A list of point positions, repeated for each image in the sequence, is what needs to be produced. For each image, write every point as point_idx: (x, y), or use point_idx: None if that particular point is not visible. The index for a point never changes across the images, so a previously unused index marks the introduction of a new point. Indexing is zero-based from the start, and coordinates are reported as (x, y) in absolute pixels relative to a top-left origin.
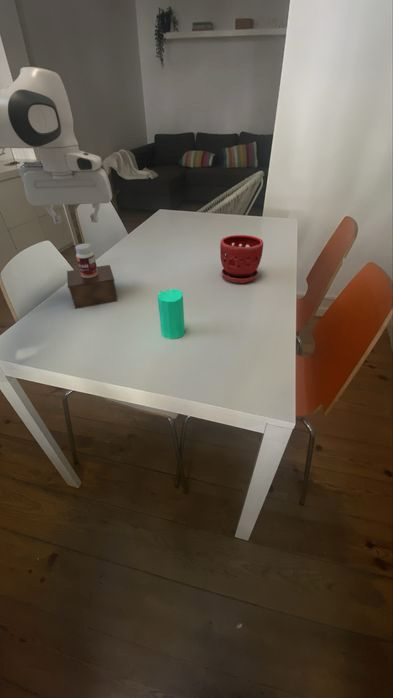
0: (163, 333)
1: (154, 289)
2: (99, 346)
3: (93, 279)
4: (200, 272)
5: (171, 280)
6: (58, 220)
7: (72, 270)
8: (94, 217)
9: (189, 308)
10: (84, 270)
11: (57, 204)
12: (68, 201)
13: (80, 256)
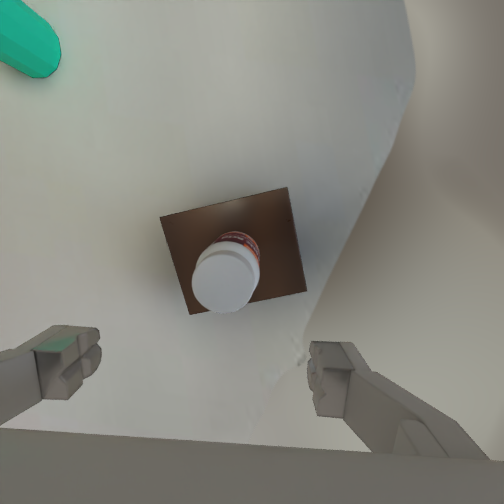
0: (43, 21)
1: (106, 259)
2: (193, 4)
3: (218, 221)
4: (8, 328)
5: (71, 298)
6: (321, 349)
7: (291, 292)
8: (42, 340)
9: (11, 155)
10: (238, 235)
11: (321, 451)
12: (131, 471)
13: (236, 246)
